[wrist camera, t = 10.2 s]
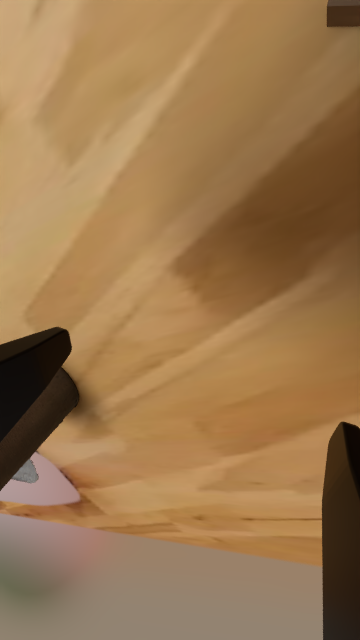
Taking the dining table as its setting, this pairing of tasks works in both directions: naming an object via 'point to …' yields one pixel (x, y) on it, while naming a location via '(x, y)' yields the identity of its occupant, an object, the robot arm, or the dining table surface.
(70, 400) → the pillar candle
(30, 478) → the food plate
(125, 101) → the dining table surface
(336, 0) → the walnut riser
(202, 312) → the dining table surface
